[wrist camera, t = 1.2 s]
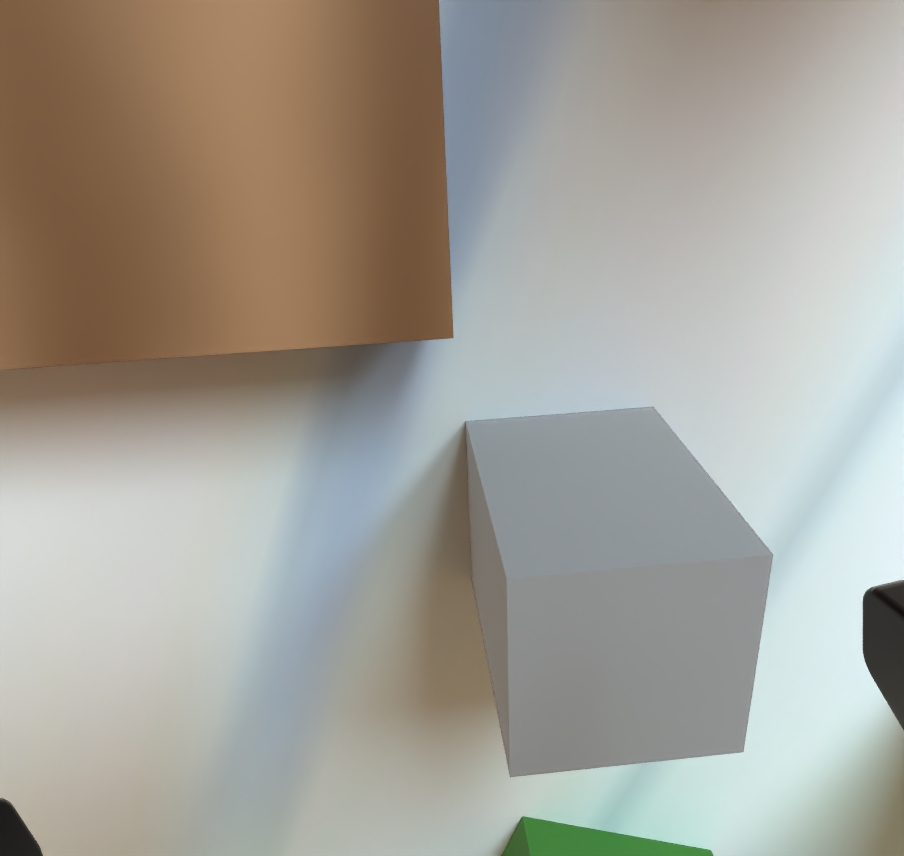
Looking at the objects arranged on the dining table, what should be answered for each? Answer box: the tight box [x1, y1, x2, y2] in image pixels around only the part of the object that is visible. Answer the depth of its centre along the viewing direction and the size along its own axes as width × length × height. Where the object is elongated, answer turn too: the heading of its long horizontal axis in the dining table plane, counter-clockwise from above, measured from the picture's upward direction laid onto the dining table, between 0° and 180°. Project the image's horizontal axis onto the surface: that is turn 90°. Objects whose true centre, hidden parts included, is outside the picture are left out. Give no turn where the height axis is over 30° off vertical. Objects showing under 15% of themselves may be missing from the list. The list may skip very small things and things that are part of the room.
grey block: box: [466, 407, 773, 777], centre depth 19 cm, size 5×5×7 cm
